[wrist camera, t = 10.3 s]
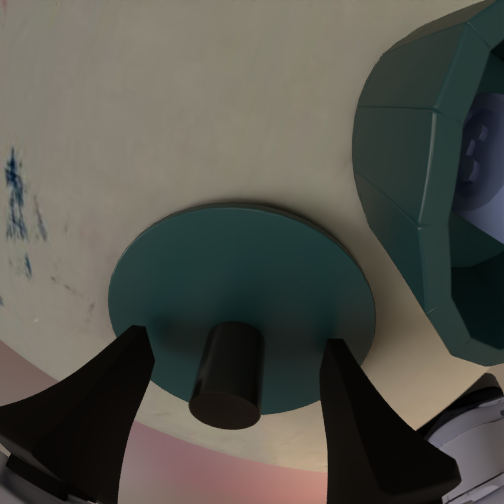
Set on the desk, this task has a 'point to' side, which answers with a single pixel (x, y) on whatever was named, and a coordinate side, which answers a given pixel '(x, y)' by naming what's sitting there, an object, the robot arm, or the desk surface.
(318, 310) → the lid
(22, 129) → the desk surface
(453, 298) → the tin
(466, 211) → the decorative dice
